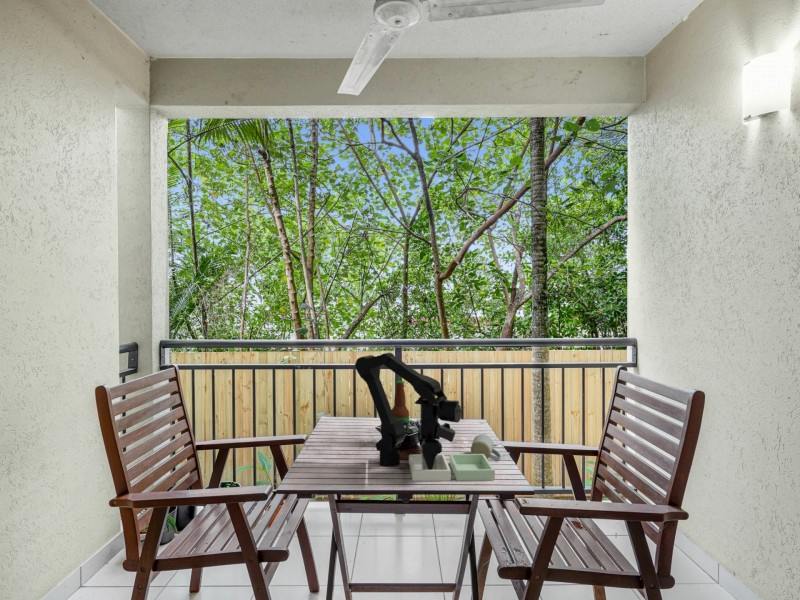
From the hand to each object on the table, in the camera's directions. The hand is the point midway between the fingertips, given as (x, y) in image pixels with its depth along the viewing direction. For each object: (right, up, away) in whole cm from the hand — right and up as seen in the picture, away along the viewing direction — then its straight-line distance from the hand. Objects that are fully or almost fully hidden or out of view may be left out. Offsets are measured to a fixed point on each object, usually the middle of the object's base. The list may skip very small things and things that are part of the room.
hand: (428, 465), depth 170 cm
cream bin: (0, -3, 0) cm, 3 cm away
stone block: (0, -2, 0) cm, 2 cm away
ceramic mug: (+22, -3, +17) cm, 28 cm away
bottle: (-10, -2, +32) cm, 33 cm away
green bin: (+14, -3, +1) cm, 14 cm away
